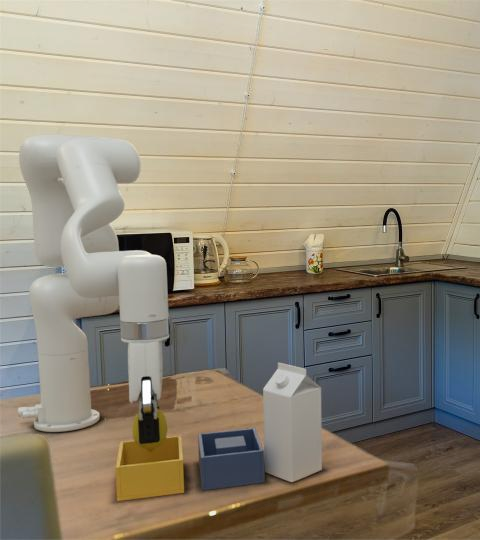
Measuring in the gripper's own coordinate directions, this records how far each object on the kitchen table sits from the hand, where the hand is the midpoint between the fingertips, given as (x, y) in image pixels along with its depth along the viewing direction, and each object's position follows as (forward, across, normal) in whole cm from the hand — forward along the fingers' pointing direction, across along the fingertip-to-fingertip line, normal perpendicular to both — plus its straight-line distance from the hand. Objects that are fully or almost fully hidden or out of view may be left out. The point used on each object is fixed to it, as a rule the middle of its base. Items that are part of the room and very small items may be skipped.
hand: (149, 435), depth 121 cm
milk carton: (+8, +3, +24) cm, 25 cm away
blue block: (+8, 0, +13) cm, 15 cm away
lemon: (+3, 0, 0) cm, 3 cm away
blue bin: (+8, 0, +13) cm, 15 cm away
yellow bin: (+8, 0, 0) cm, 8 cm away
